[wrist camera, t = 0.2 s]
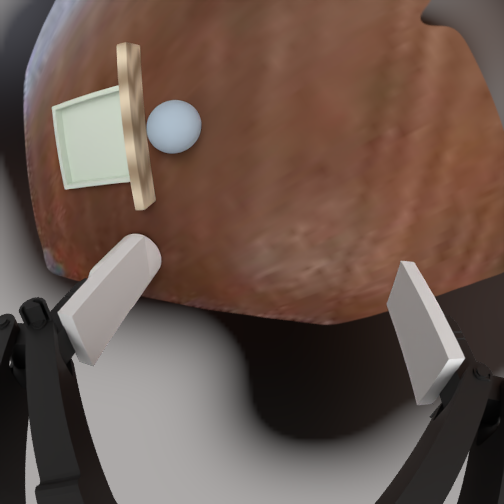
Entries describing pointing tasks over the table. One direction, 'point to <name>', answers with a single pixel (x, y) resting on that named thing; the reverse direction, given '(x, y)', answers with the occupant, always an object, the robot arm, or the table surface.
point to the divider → (134, 124)
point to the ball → (173, 126)
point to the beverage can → (152, 257)
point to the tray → (91, 140)
